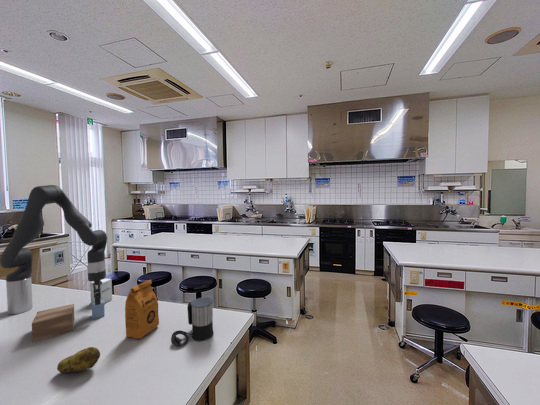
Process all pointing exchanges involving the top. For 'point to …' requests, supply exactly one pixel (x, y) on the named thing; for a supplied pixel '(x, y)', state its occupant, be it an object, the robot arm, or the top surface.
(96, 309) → the slate block
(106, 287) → the supplement box
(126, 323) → the coffee package
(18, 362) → the top surface
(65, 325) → the walnut box
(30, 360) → the top surface
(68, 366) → the potato
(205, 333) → the milk frother
